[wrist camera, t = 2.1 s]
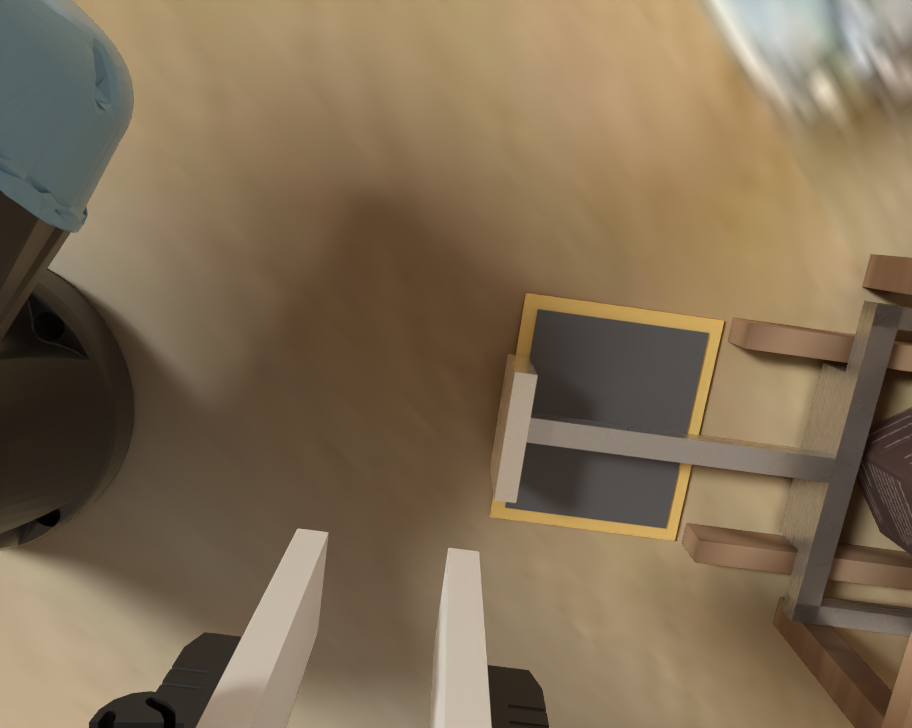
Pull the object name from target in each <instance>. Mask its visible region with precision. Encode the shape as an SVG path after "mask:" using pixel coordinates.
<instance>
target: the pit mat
mask: <svg viewBox="0 0 912 728" xmlns="http://www.w3.org/2000/svg"><path fill="white" fill-rule="evenodd" d="M723 324H724V321H723V320H717V319H710V318H703V317H696V316H689V315H682V314H674V313H667V312H660V311H653V310H646V309H639V308H632V307H624V306H617V305H610V304H603V303H596V302H589V301H581V300H574V299H567V298H560V297H553V296H546V295H539V294H531V293H526V294H525V300H524V306H523V312H522V319H521V325H520V331H519V337H518V343H517V350H516V355H519V356H527V357H528V358H529V359H530V361H531V363H532V365H533V367H534V369H535V371H536V373H537V375H538V377H537V383H536V388H535V394H534V400H533V406H532V412H533V413H540V414H548V415H555V416H563V417H570V418H577V419H585V420H592V421H600V422H607V423H615V424H622V425H629V426H637V427H644V428H652V429H659V430H667V431H674V432H682V433H689V434H696V435H699V431H700V426H701V422H702V418H703V413H704V409H705V404H706V400H707V395H708V391H709V386H710V382H711V378H712V373H713V369H714V364H715V360H716V355H717V351H718V346H719V342H720V338H721V333H722V329H723ZM691 466H692V464H686V463H678V462H671V461H663V460H656V459H648V458H641V457H633V456H626V455H618V454H610V453H603V452H595V451H588V450H580V449H573V448H565V447H558V446H550V445H543V444H535V443H528V442H526V448H525V453H524V459H523V465H522V471H521V477H520V483H519V489H518V495H517V501H516V503H511V502H503V501H496V500H494V495H493V499H492V505H491V511H490V517H494V518H502V519H509V520H517V521H525V522H533V523H540V524H548V525H556V526H563V527H571V528H579V529H587V530H594V531H602V532H610V533H617V534H625V535H633V536H641V537H648V538H656V539H664V540H672V541H675V538H676V533H677V529H678V524H679V520H680V515H681V511H682V506H683V502H684V498H685V493H686V489H687V484H688V480H689V475H690V471H691Z"/></svg>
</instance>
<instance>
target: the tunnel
mask: <svg viewBox="0 0 912 728" xmlns="http://www.w3.org/2000/svg"><path fill="white" fill-rule="evenodd" d="M863 287H867V288H873V289H879V290H885V291H891V292H897V293H903V294H909V295H912V258H908V257H896V256H884V255H873V254H871V257H870V260H869V264H868V268H867V272H866V275H865V279H864V283H863ZM854 338H855V335H854V334H846V333H839V332H832V331H825V330H818V329H811V328H804V327H796V326H789V325H782V324H775V323H768V322H761V321H753V320H746V319H739V318H733V321H732V326H731V330H730V335H729V339H728V341H729V342H731V343H733V344H736V345H738V346H740V347H742V348H745V349H752V350H759V351H766V352H773V353H781V354H788V355H795V356H802V357H810V358H817V359H824V360H831V361H838V362H846V363H848V361H849V357H850V353H851V350H852V346H853V342H854ZM887 368H889V369H896V370H903V371H911V372H912V343H911V342H904V341H896V340H894V344H893V347H892V351H891V355H890V358H889V362H888V365H887ZM682 545H683V546H684V547H685V549H686V550H687V552H688V553H689V555H690V556H691V558H692V559H693V560H694V562H697V563H705V564H713V565H720V566H728V567H736V568H744V569H751V570H759V571H767V572H775V573H782V574H790V575H791V574H792V570H793V567H794V563H795V559H796V555H797V552H798V549H797V548H796V547H795V546H794V545H793V544H792V543H791V542H790V541H789V540H788V539H787V538H786V537H785V536H780V535H773V534H765V533H757V532H750V531H742V530H734V529H727V528H719V527H711V526H704V525H696V524H688V523H687V524H686V528H685V532H684V537H683V541H682ZM828 579H829V580H837V581H845V582H852V583H860V584H868V585H876V586H884V587H891V588H899V589H907V590H912V555H911V554H909V553H908V552H903V551H895V550H888V549H880V548H872V547H865V546H857V545H849V544H842V543H838V544H837V547H836V551H835V554H834V558H833V562H832V565H831V569H830V572H829V576H828ZM784 600H785V598H780V599H779V603H778V607H777V611H776V614H775V618H774V622H773V624H774V625H775V626H776V628H777V629H778V630H779V632H780V633H781V634H782V635H783V637H784V638H785V639H786V640H787V642H788V643H789V644H790V646H791V647H792V648H793V649H794V651H795V652H796V653H797V654H798V656H799V657H800V658H801V660H802V661H803V662H804V663H805V665H806V666H807V667H808V668H809V670H810V671H811V672H812V674H813V675H814V676H815V677H816V679H817V680H818V681H819V683H820V684H821V685H822V686H823V688H824V689H825V690H826V691H827V693H828V694H829V695H830V697H831V698H832V699H833V700H834V702H835V703H836V704H837V705H838V707H839V708H840V709H841V711H842V712H843V713H844V714H845V716H846V717H847V718H848V719H849V721H850V722H851V723H852V725H853V726H854V727H855V728H912V632H911V635H910V638H909V641H908V645H907V648H906V651H905V654H904V657H903V660H902V664H901V667H900V670H899V673H898V676H897V680H896V683H895V686H894V689H893V692H892V691H891V690H890V689H889V688H888V687H887V686H886V685H885V684H884V682H883V681H882V680H881V679H880V678H879V677H878V676H877V675H876V674H875V673H874V672H873V671H872V670H871V668H870V667H869V666H868V665H867V664H866V663H865V662H864V661H863V660H862V659H861V658H860V657H859V655H858V654H857V653H856V652H855V651H854V650H853V649H852V648H851V647H850V646H849V645H848V644H847V642H846V641H845V640H844V639H843V638H842V637H841V636H840V635H839V634H838V633H837V632H836V631H835V629H834V628H833V627H832V626H825V625H817V624H809V623H802V622H794V621H791V620H790V619H789V618H788V616H787V615H786V614H785V613H784V612H783V611H782V608H783V604H784Z"/></svg>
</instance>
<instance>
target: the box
mask: <svg viewBox="0 0 912 728" xmlns="http://www.w3.org/2000/svg"><path fill="white" fill-rule="evenodd" d="M856 478H857V480H858V483H859V485H860V487H861V490H862V492H863V494H864V496H865V499H866V501H867V503H868V505H869V508H870V510H871V512H872V515H873V517H874V519H875V521H876V523H877V526H878V528H879V530H880V532H881V533H882V534H883V535H885V536H886V537H888V538H889V539H890V540H892V541H893V542H895V543H896V544H897V545H899V546H900V547H901V548H903V549H904V550H905V551H907V552H908V553H909V554H911V555H912V407H911V408H909V409H907V410H905V411H903V412H901V413H898V414H896V415H895V416H893V417H890V418H888V419H886V420H884V421H882V422H880V423H877V424H875V425H873V426H871V427H870V430H869V433H868V437H867V440H866V444H865V447H864V451H863V455H862V458H861V462H860V465H859V469H858V472H857V476H856Z"/></svg>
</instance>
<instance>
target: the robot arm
mask: <svg viewBox="0 0 912 728" xmlns="http://www.w3.org/2000/svg"><path fill="white" fill-rule="evenodd" d="M133 103H134V96H133V86H132V81H131V77H130V74H129V71H128V68H127V66H126V64H125V62H124V60H123V58H122V56H121V55H120V53H119V51H118V49H117V48H116V46H115V45H114V44H113V42H112V41H111V40H110V39H109V37H108V36H107V35H106V34H105V33H104V31H103V30H102V29H101V28H100V27H99V26H98V25H97V24H96V23H95V22H94V21H93V20H92V19H91V18H90V17H89V16H88V15H87V14H86V13H85V12H84V11H83V10H82V9H81V8H80V7H79V6H78V5H77V4H76V3H74V2H73V1H72V0H0V551H1V550H5V549H9V548H13V547H17V546H21V545H24V544H26V543H29V542H32V541H34V540H37V539H39V538H41V537H43V536H45V535H47V534H49V533H51V532H53V531H55V530H56V529H58V528H59V527H61V526H63V525H64V524H65V523H67V522H68V521H69V520H71V519H72V518H73V517H74V516H76V515H77V514H78V513H80V512H81V511H82V510H84V509H85V508H86V507H87V506H89V505H90V504H91V503H92V502H93V501H95V500H96V499H97V498H98V497H99V496H100V495H101V494H102V493H103V492H104V490H105V489H106V488H107V487H108V485H109V484H110V483H111V482H112V480H113V479H114V477H115V475H116V474H117V472H118V470H119V468H120V467H121V465H122V462H123V460H124V458H125V455H126V452H127V449H128V446H129V442H130V438H131V433H132V427H133V393H132V387H131V382H130V377H129V373H128V370H127V367H126V363H125V361H124V358H123V356H122V353H121V351H120V349H119V346H118V344H117V342H116V340H115V339H114V337H113V335H112V333H111V331H110V330H109V328H108V327H107V325H106V324H105V322H104V321H103V320H102V318H101V317H100V316H99V314H98V313H97V312H96V311H95V309H94V308H93V307H92V306H91V305H90V304H89V303H88V302H87V301H86V300H85V299H84V298H83V297H82V296H81V295H80V294H79V293H78V292H77V291H76V290H75V289H74V288H72V287H71V286H70V285H69V284H67V283H66V282H65V281H63V280H62V279H61V278H59V277H58V276H56V275H55V274H53V273H52V272H50V271H48V270H47V268H48V266H49V265H50V263H51V262H52V260H53V259H54V257H55V256H56V254H57V253H58V251H59V250H60V248H61V246H62V245H63V243H64V242H65V240H66V239H67V237H68V236H69V234H70V233H71V232H73V233H76V232H78V231H79V230H80V228H81V227H82V226H83V224H84V222H85V220H86V218H87V216H88V212H87V207H86V205H87V203H88V201H89V199H90V197H91V195H92V193H93V192H94V190H95V188H96V186H97V184H98V182H99V180H100V178H101V176H102V174H103V172H104V171H105V169H106V167H107V165H108V163H109V161H110V159H111V157H112V155H113V153H114V152H115V150H116V148H117V146H118V144H119V142H120V141H121V139H122V137H123V135H124V134H125V132H126V130H127V128H128V126H129V123H130V120H131V116H132V111H133ZM328 534H329V532H323V531H315V530H307V529H299V528H297V530H296V532H295V534H294V536H293V538H292V540H291V542H290V544H289V546H288V548H287V550H286V552H285V554H284V556H283V558H282V560H281V562H280V564H279V566H278V568H277V570H276V572H275V573H274V575H273V577H272V579H271V581H270V583H269V585H268V587H267V589H266V591H265V593H264V595H263V597H262V599H261V601H260V603H259V605H258V607H257V609H256V611H255V613H254V615H253V617H252V619H251V621H250V622H249V624H248V626H247V628H246V630H245V632H244V634H243V636H242V637H238V636H230V635H222V634H214V633H206V632H205V633H203V634H202V635H201V636H199V637H198V638H196V639H195V640H194V641H192V642H191V643H189V644H188V645H187V646H185V647H184V648H183V650H182V652H181V653H180V655H179V656H178V658H177V659H176V661H175V663H174V664H173V666H172V669H171V670H170V671H169V672H168V674H167V675H166V677H165V678H164V680H163V683H162V685H160V686H159V688H158V689H157V691H156V692H151V691H149V692H140V693H132V694H129V695H126V696H123V697H120V698H118V699H115V700H113V701H111V702H110V703H108V704H107V705H105V706H104V707H102V708H101V709H99V710H98V712H97V713H96V714H95V715H94V717H93V718H92V719H91V721H90V722H89V728H286V726H287V723H288V720H289V717H290V714H291V711H292V708H293V705H294V702H295V699H296V696H297V693H298V690H299V687H300V684H301V681H302V678H303V675H304V672H305V669H306V666H307V663H308V660H309V657H310V654H311V651H312V648H313V645H314V642H315V639H316V636H317V633H318V627H319V618H320V608H321V599H322V590H323V580H324V571H325V562H326V553H327V543H328ZM430 728H549V723H548V718H547V713H546V707H545V702H544V696H543V691H542V688H541V687H540V685H539V684H538V682H537V681H536V680H535V678H534V677H533V675H532V674H531V673H530V671H529V670H522V669H514V668H506V667H498V666H490V665H487V655H486V641H485V627H484V613H483V599H482V585H481V571H480V557H479V551H471V550H463V549H456V548H448V553H447V560H446V567H445V574H444V580H443V587H442V594H441V601H440V607H439V614H438V621H437V627H436V634H435V641H434V650H433V670H432V690H431V710H430Z"/></svg>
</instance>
